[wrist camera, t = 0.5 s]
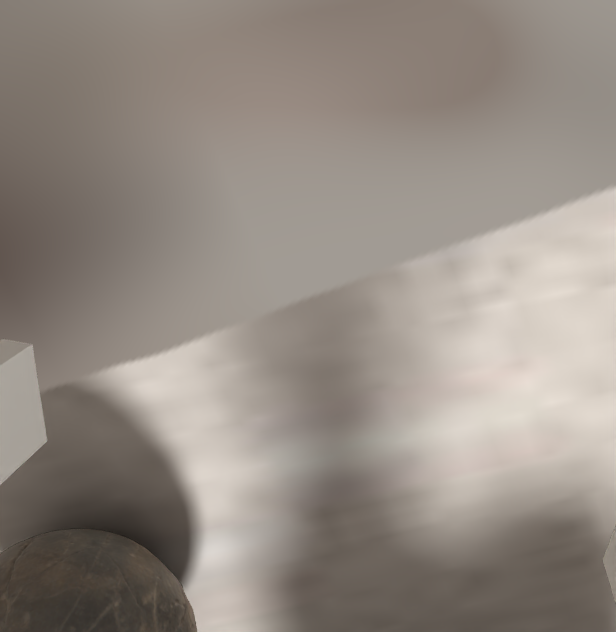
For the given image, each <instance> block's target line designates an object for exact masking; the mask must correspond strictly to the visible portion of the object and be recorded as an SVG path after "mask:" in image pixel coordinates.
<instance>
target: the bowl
mask: <svg viewBox="0 0 616 632" xmlns="http://www.w3.org/2000/svg"><path fill="white" fill-rule="evenodd" d="M0 632H197V627H196V622H195V616H194V612H193V609H192V607H191V605H190V603H189V601H188V599H187V597H186V595H185V593H184V590H183V587H182V585H181V584H180V582H179V581H178V580H177V578H176V577H175V576H174V575H173V574H172V572H171V571H170V570H169V569H167V567H166V566H165V565H164V564H163V563H162V562H161V561H160V560H159V559H158V558H157V557H156V556H155V555H153V554H152V553H151V552H150V551H149V550H148V549H146V548H144V547H143V546H142V545H140V544H138V543H136V542H135V541H133V540H131V539H128V538H126V537H123V536H121V535H118V534H115V533H111V532H107V531H101V530H94V529H65V530H57V531H52V532H47V533H44V534H41V535H38V536H35V537H32V538H29V539H27V540H24V541H22V542H20V543H18V544H15V545H13V546H11V547H10V548H8V549H7V550H5V551H3V552H2V553H0Z"/></svg>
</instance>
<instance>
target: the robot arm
mask: <svg viewBox="0 0 616 632" xmlns="http://www.w3.org/2000/svg"><path fill="white" fill-rule="evenodd" d="M46 442H47V435H46V429H45V422H44V416H43V410H42V403H41V397H40V390H39V384H38V377H37V371H36V365H35V359H34V352H33V345H32V344H29V343H23V342H18V341H12V340H7V339H2V340H1V341H0V485H1V484H2V483H3V482H4V481H5V480H6V479H7V478H8V477H9V476H11V475H12V474H13V473H14V472H15V471H16V470H17V469H18V468H19V467H20V466H21V465H22V464H23V463H24V462H26V461H27V460H28V459H29V458H30V457H31V456H32V455H33V454H34V453H35V452H36V451H37V450H38V449H39V448H41V447H42V446H43V445H44V444H45V443H46ZM603 563H604V567H605V570H606V573H607V576H608V580H609V583H610V586H611V589H612V593H613V596H614V599H615V602H616V526H615V529H614V531H613V534H612V537H611V539H610V542H609V544H608V547H607V549H606V552H605V555H604V557H603Z"/></svg>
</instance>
